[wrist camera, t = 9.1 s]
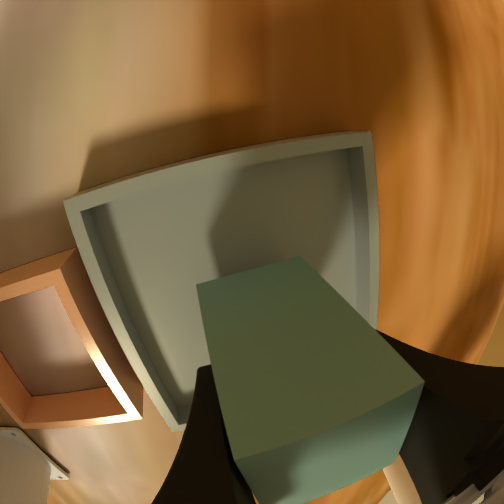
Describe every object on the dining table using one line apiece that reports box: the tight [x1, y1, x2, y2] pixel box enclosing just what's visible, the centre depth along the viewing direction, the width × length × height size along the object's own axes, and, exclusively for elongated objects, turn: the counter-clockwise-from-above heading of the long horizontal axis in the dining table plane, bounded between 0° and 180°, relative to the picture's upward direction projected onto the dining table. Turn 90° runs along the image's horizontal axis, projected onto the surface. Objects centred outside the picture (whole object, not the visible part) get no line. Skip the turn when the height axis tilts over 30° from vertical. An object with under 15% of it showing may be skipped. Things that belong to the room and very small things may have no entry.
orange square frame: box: [0, 247, 143, 429], centre depth 12 cm, size 9×9×2 cm
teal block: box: [196, 256, 425, 504], centre depth 10 cm, size 4×4×8 cm
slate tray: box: [63, 131, 379, 432], centre depth 15 cm, size 13×14×2 cm
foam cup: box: [383, 454, 455, 504], centre depth 20 cm, size 10×9×13 cm
